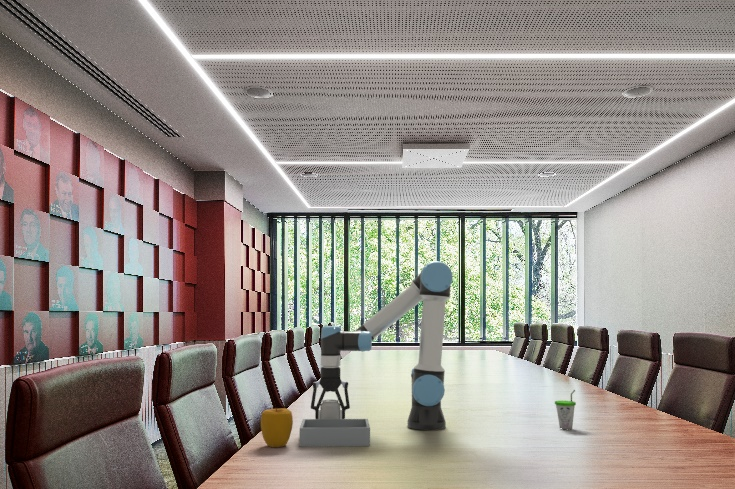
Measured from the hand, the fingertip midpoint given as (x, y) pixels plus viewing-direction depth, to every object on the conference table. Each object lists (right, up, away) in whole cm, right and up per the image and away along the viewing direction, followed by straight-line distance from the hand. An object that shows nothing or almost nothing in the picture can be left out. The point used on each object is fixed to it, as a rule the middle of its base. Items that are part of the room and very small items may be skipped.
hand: (330, 427), depth 233 cm
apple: (-17, +1, -23) cm, 29 cm away
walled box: (+3, 0, -15) cm, 15 cm away
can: (0, -2, 0) cm, 2 cm away
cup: (+92, -3, +8) cm, 92 cm away
